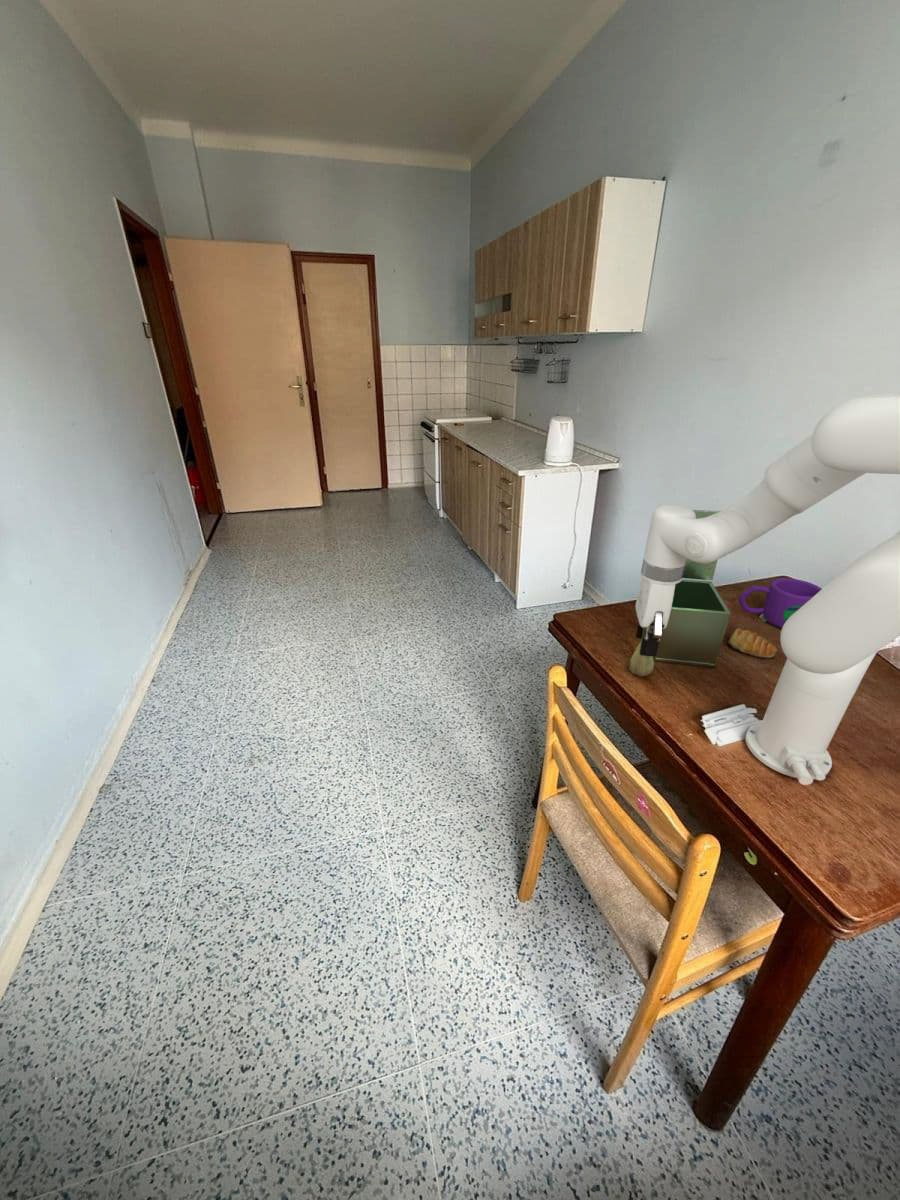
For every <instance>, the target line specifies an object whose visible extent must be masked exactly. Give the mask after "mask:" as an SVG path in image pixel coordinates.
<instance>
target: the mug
mask: <svg viewBox="0 0 900 1200" xmlns="http://www.w3.org/2000/svg"><path fill="white" fill-rule="evenodd" d="M822 589H823V588H821V587H820V586H818V585H817V584H814V583H812V582H809V581H806V580H802V579H798V578H788V577H781V578H775V579H774V580H772V581H771V582H770V584H769V586H768V587H766V586H764V585H763V586H762V585H754V586H751V587H749V588H747V589H746V590H744V591H743V592H742V593H741V594H740V595H739V600H738V601H739V605H740V608H741V609H742V610H743V611H745V612H746V613H750V614H763V619H765V621H766V622H768V623H769V624H771V625H773V626H774V627H777V628H780V629H782V628H783V625H784V624H785V622H786V621H787V620H788V618H789V617H790V616H792V615H793V614H794V613H795V612H796V611H797V610H799V609H800V608H801V607H802V606H803V605H804V604H805V603H807V602H808V601H809V600H810V599H811V598H812V597H814V596H815V595H816V594H817V593H818V592H819V591H820V590H822ZM755 592H761V593H764V594H766V596H765V598H764V599H765V600H764V604H763V607H758V608H757V607H750V606H748V604H747V601H746V598H747V597H749V596H750V595H752V594H753V593H755Z"/></svg>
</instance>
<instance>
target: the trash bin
mask: <svg viewBox="0 0 900 1200" xmlns="http://www.w3.org/2000/svg"><path fill="white" fill-rule="evenodd" d="M730 618H731V612H730V610H729V608H728V607H727V606H726V603H725V602H724V600H723V598H722V597H721V595H720V594H719V592H718V590H717V588H716V587H715V585H714V583H713V582H712V581H710V580H696V579H682V580H681V582H679V583H677V584H675V590H674V596H673V602H672V607H671V612H670V616H669V620H668V624H667V627H666V628H665V629H662V634H661V637H660V642H659V646H658V650H657V654H656V656H655V657H653V660H654V662H663V663H671V664H672V663H673V664H681V665H689V666H690V665H692V666H701V667H709V668H715V666H716V663H717V659H718V657H719V653H720V650H721V648H722V647H721V646H722V643H723V640H724V637H725V634H726V631H727V630H726V629H727V627H728V624H729V620H730ZM653 630H654V629H653Z"/></svg>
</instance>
